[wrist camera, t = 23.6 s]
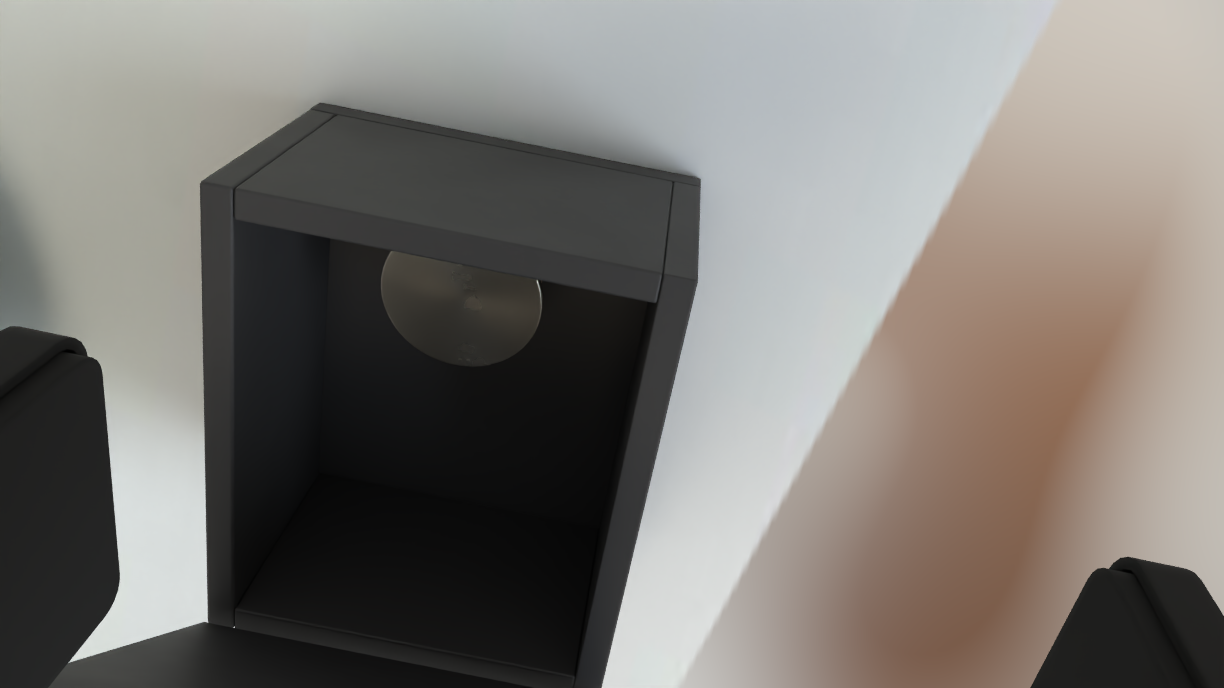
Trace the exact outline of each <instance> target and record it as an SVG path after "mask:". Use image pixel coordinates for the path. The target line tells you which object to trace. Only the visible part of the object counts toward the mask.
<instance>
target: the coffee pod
mask: <svg viewBox="0 0 1224 688" xmlns="http://www.w3.org/2000/svg"><path fill="white" fill-rule="evenodd" d="M381 295H382V300H383V304H384V307H385V310H386V312H387V314H388V316H389V318H390V320H391V322H392V324H393V325H394V326H395V328H396V329H397V331H398V332H399V333H400V334H401V335H402V336H403V337H404V338H405V339H406V340H407V341H408V342H409V343H410V344H411V345H412V346H414V347H415V348H417V349H418V350H419V351H421V352H422V353H424V354H426V355H428V356H430V357H432V358H434V359H437V360H439V361H442V362H445V363H448V364H452V365H458V366H468V367H476V366H486V365H491V364H495V363H498V362H501V361H503V360H506V359H508V358H510V357H511V356H513V355H515V354H516V353H518V352H519V351H520V350H521V349H523V348H524V347H525V346H526V344H527V343H528V342H529V341H530V340H531V338H532V337H533V335H534V334H535V332H536V330H537V328H538V325H539V322H540V319H541V316H542V312H543V305H544V294H543V288H542V281H540V280H535V279H530V278H525V277H520V276H515V275H510V274H505V273H500V272H495V271H490V270H485V269H480V268H475V267H470V266H465V265H460V264H455V263H450V262H445V261H440V260H435V259H430V258H425V257H420V256H415V255H410V254H405V253H400V252H395V251H390V252H389V254H388V256H387V258H386V260H385V263H384V266H383V268H382V274H381Z"/></svg>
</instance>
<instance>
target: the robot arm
mask: <svg viewBox="0 0 1224 688" xmlns="http://www.w3.org/2000/svg"><path fill="white" fill-rule="evenodd" d="M119 580H120V572H119V560H118V549H117V537H116V525H115V514H114V502H113V491H112V479H111V468H110V456H109V444H108V433H107V421H106V410H105V398H104V386H103V375H102V370H101V366H100V364H99V363H98V361H97V360H95V359H94V358H92V357H88V356H87V352H86V349H85V347H84V346H83V344H82V342H80V341H79V340H77V339H75V338H72V337H67V336H62V335H58V334H53V333H48V332H43V331H38V330H33V329H29V328H24V327H16V326H10V327H8V328H6V329H3V330H1V331H0V688H48V687H49V686H50V685H51V684H52V682H53V681H54V680H55V679H56V677H57V676H58V675H59V674H60V672H61V671H62V670H63V669H64V667H65V666H66V665H67V664H68V662H69V661H70V660H71V659H72V657H73V656H74V655H75V654H76V652H77V651H78V650H79V649H80V647H81V646H82V645H83V644H84V642H85V641H86V640H87V639H88V637H89V636H90V635H91V634H92V632H93V631H94V630H95V629H96V627H97V626H98V625H99V624H100V622H101V621H102V620H103V619H104V617H105V616H106V614H107V613H108V611H109V610H110V608H111V606H112V604H113V602H114V600H115V597H116V594H117V591H118V587H119ZM1031 688H1224V616H1223V614H1222V613H1221V611H1220V609H1219V608H1218V606H1217V604H1216V603H1215V601H1214V600H1213V599H1212V596H1211V595H1210V593H1209V592H1208V590H1207V588H1206V587H1205V585H1204V584H1203V582H1202V581H1201V580H1200V578H1199V577H1198V576H1197V575H1196V574H1195V573H1194V572H1192V571H1190V570H1188V569H1184V568H1179V567H1175V566H1170V565H1164V564H1160V563H1155V562H1150V561H1146V560H1141V559H1136V558H1131V557H1124V558H1120V559H1119V560H1117V561H1116V562H1114V563H1113V564H1112V566H1111V567H1110V568H1109V569H1106V568H1100V569H1097V570H1095V571H1094V572H1093V573H1092V574H1091V576H1090V577H1089V578H1088V580H1087V582H1086V584H1085V586H1084V587H1083V589H1082V591H1081V593H1080V595H1079V597H1078V599H1077V601H1076V602H1075V604H1074V606H1073V608H1072V610H1071V612H1070V614H1069V616H1068V618H1067V619H1066V621H1065V623H1064V625H1063V627H1062V629H1061V631H1060V633H1059V635H1058V637H1057V639H1056V640H1055V642H1054V644H1053V646H1052V648H1051V650H1050V652H1049V654H1048V655H1047V657H1046V659H1045V661H1044V663H1043V665H1042V667H1041V669H1040V671H1039V672H1038V674H1037V676H1036V678H1035V680H1034V682H1033V684H1032V686H1031Z"/></svg>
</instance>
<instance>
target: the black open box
mask: <svg viewBox="0 0 1224 688" xmlns="http://www.w3.org/2000/svg"><path fill="white" fill-rule="evenodd" d="M700 188H701V179H700V178H695V177H690V176H685V175H680V174H675V173H670V172H665V171H660V170H655V169H650V168H645V167H640V166H635V165H630V164H625V163H620V162H615V161H610V160H605V159H600V158H595V157H590V156H584V155H579V154H574V153H569V152H564V151H559V150H554V149H549V148H544V147H539V146H534V145H529V144H524V143H519V142H514V141H509V140H504V139H499V138H494V137H489V136H484V135H479V134H474V133H469V132H464V131H459V130H454V129H449V128H444V127H439V126H434V125H429V124H424V123H419V122H414V121H409V120H404V119H399V118H394V117H389V116H384V115H379V114H374V113H369V112H364V111H359V110H354V109H349V108H344V107H339V106H334V105H329V104H324V103H319V104H317V105H315V106H314V107H312V108H311V109H310V110H309V111H308V112H306V113H304V114H303V115H301V116H300V117H298V118H297V119H295V120H294V121H292V122H291V123H289V124H288V125H286V126H285V127H283V128H282V129H280V130H279V131H277V132H276V133H274V134H273V135H271V136H270V137H268V138H266V139H265V140H263V141H262V142H260V143H259V144H257V145H256V146H254V147H253V148H251V149H250V150H248V151H247V152H245V153H244V154H242V155H241V156H239V157H238V158H236V159H235V160H233V161H232V162H230V163H228V164H227V165H225V166H224V167H222V168H221V169H219V170H218V171H216V172H215V173H213V174H212V175H210V176H209V177H207V178H206V179H204V180H203V181H201V183H200V207H201V262H202V317H203V372H204V427H205V483H206V538H207V593H208V623H212V624H217V625H222V626H227V627H232V628H233V627H234V626H235V628H237V629H242V630H247V631H252V632H257V633H262V634H267V635H272V636H277V637H282V638H287V639H292V640H297V641H302V642H307V643H312V644H317V645H322V646H327V647H332V648H337V649H342V650H347V651H352V652H357V653H362V654H367V655H372V656H377V657H382V658H387V659H393V660H398V661H403V662H408V663H413V664H418V665H423V666H428V667H433V668H438V669H443V670H448V671H453V672H458V673H463V674H468V675H473V676H478V677H483V678H488V679H493V680H498V681H503V682H508V683H513V684H518V685H523V686H528V687H533V688H601V687H602V683H603V679H604V675H605V671H606V666H607V662H608V658H609V654H610V649H611V645H612V641H613V637H614V633H615V628H616V624H617V620H618V616H619V612H620V607H621V603H622V599H623V595H624V590H625V586H626V582H627V578H628V574H629V569H630V565H631V561H632V557H633V552H634V548H635V544H636V540H637V536H638V531H639V527H640V523H641V519H642V515H643V510H644V506H645V502H646V498H647V493H648V489H649V485H650V481H651V477H652V472H653V468H654V464H655V460H656V455H657V451H658V447H659V443H660V439H661V434H662V430H663V426H664V422H665V418H666V413H667V409H668V405H669V401H670V396H671V392H672V388H673V384H674V380H675V375H676V371H677V367H678V363H679V358H680V354H681V350H682V346H683V342H684V337H685V333H686V329H687V325H688V321H689V316H690V312H691V308H692V304H693V299H694V295H695V291H696V287H697V283H698V254H699V221H700ZM390 251H395V252H400V253H405V254H410V255H415V256H420V257H425V258H430V259H435V260H440V261H445V262H450V263H455V264H460V265H465V266H470V267H475V268H480V269H485V270H490V271H495V272H500V273H505V274H510V275H515V276H520V277H525V278H530V279H535V280H540V281H542V288H543V294H544V305H543V312H542V316H541V319H540V322H539V325H538V328H537V330H536V332H535V334H534V335H533V337H532V338H531V340H530V341H529V342H528V343H527V344H526V346H525V347H524V348H523V349H521V350H520V351H519V352H518V353H516V354H515V355H513V356H511V357H510V358H508V359H506V360H503V361H501V362H498V363H495V364H491V365H486V366H476V367H468V366H458V365H452V364H448V363H445V362H442V361H439V360H437V359H434V358H432V357H430V356H428V355H426V354H424V353H422V352H421V351H419V350H418V349H417V348H415V347H414V346H412V345H411V344H410V343H409V342H408V341H407V340H406V339H405V338H404V337H403V336H402V335H401V334H400V333H399V332H398V331H397V329H396V328H395V326H394V325H393V324H392V322H391V320H390V318H389V316H388V314H387V312H386V310H385V307H384V304H383V300H382V295H381V274H382V268H383V266H384V263H385V260H386V258H387V256H388V254H389V252H390Z"/></svg>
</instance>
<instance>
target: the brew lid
mask: <svg viewBox="0 0 1224 688" xmlns="http://www.w3.org/2000/svg"><path fill="white" fill-rule="evenodd" d="M48 688H533V687H528V686H523V685H518V684H513V683H508V682H503V681H498V680H493V679H488V678H483V677H478V676H473V675H468V674H463V673H458V672H453V671H448V670H443V669H438V668H433V667H428V666H423V665H418V664H413V663H408V662H403V661H398V660H393V659H387V658H382V657H377V656H372V655H367V654H362V653H357V652H352V651H347V650H342V649H337V648H332V647H327V646H322V645H317V644H312V643H307V642H302V641H297V640H292V639H287V638H282V637H277V636H272V635H267V634H262V633H257V632H252V631H247V630H242V629H237V628H232V627H227V626H222V625H217V624H212V623H207V622H203V623H199V624H196V625H193V626H189V627H186V628H183V629H180V630H176V631H173V632H170V633H166V634H163V635H160V636H156V637H153V638H150V639H146V640H143V641H140V642H136V643H133V644H130V645H126V646H123V647H120V648H117V649H113V650H110V651H107V652H103V653H100V654H97V655H93V656H90V657H87V658H83V659H80V660H77V661H73V662H70V663H68V664H67V665H66V666H65V667H64V669H63V670H62V671H61V672H60V674H59V675H58V676H57V677H56V679H55V680H54V681H53V682H52V684H51V685H50V686H49V687H48Z"/></svg>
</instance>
